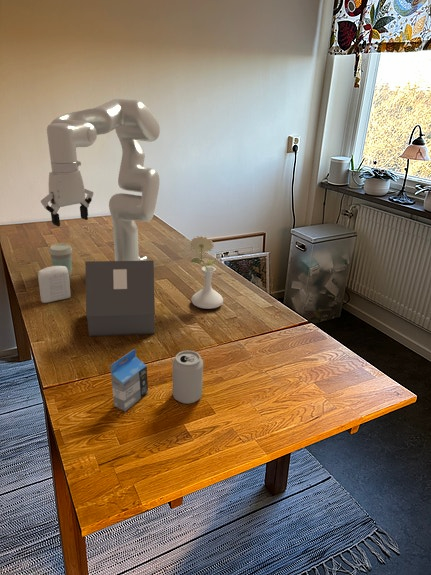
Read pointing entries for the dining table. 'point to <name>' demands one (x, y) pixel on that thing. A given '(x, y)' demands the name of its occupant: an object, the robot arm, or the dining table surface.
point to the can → (187, 377)
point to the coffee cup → (61, 255)
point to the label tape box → (128, 381)
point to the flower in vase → (207, 295)
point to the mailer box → (120, 325)
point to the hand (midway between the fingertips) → (70, 222)
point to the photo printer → (54, 283)
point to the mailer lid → (119, 288)
